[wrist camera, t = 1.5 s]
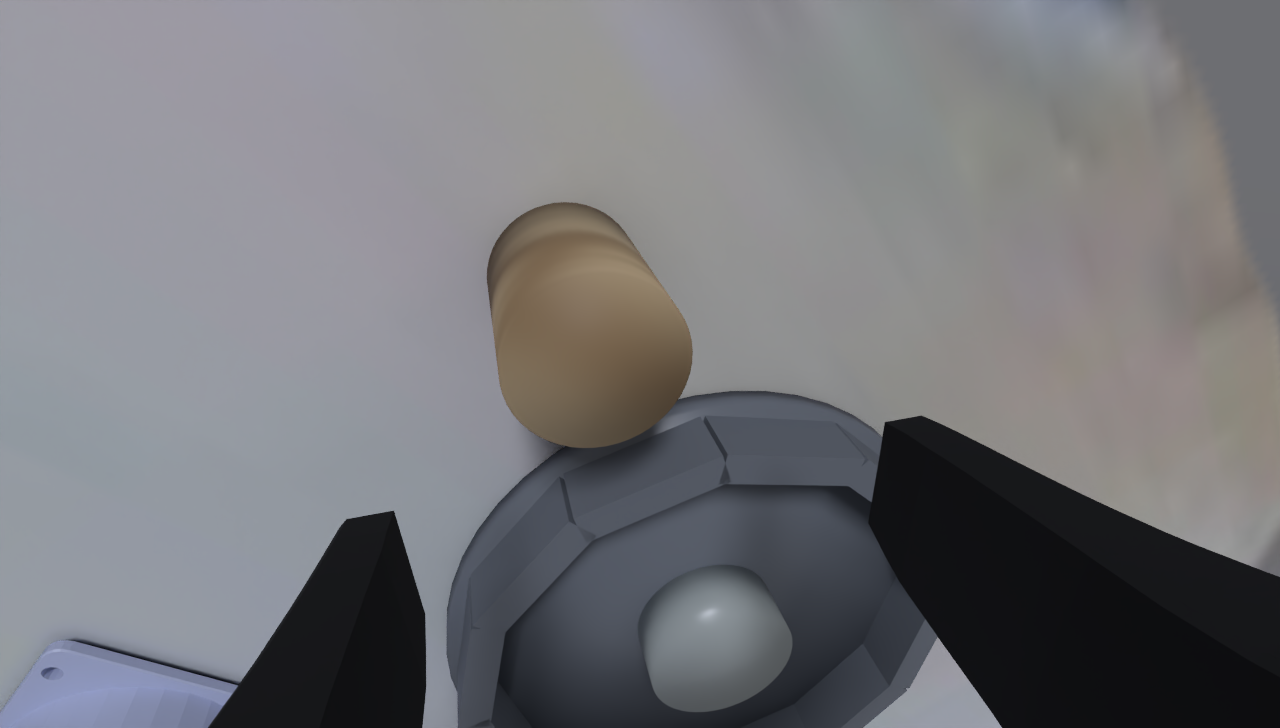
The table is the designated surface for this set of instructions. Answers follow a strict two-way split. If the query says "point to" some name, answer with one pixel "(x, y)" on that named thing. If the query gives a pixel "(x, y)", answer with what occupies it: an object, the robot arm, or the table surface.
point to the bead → (583, 329)
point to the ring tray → (668, 526)
